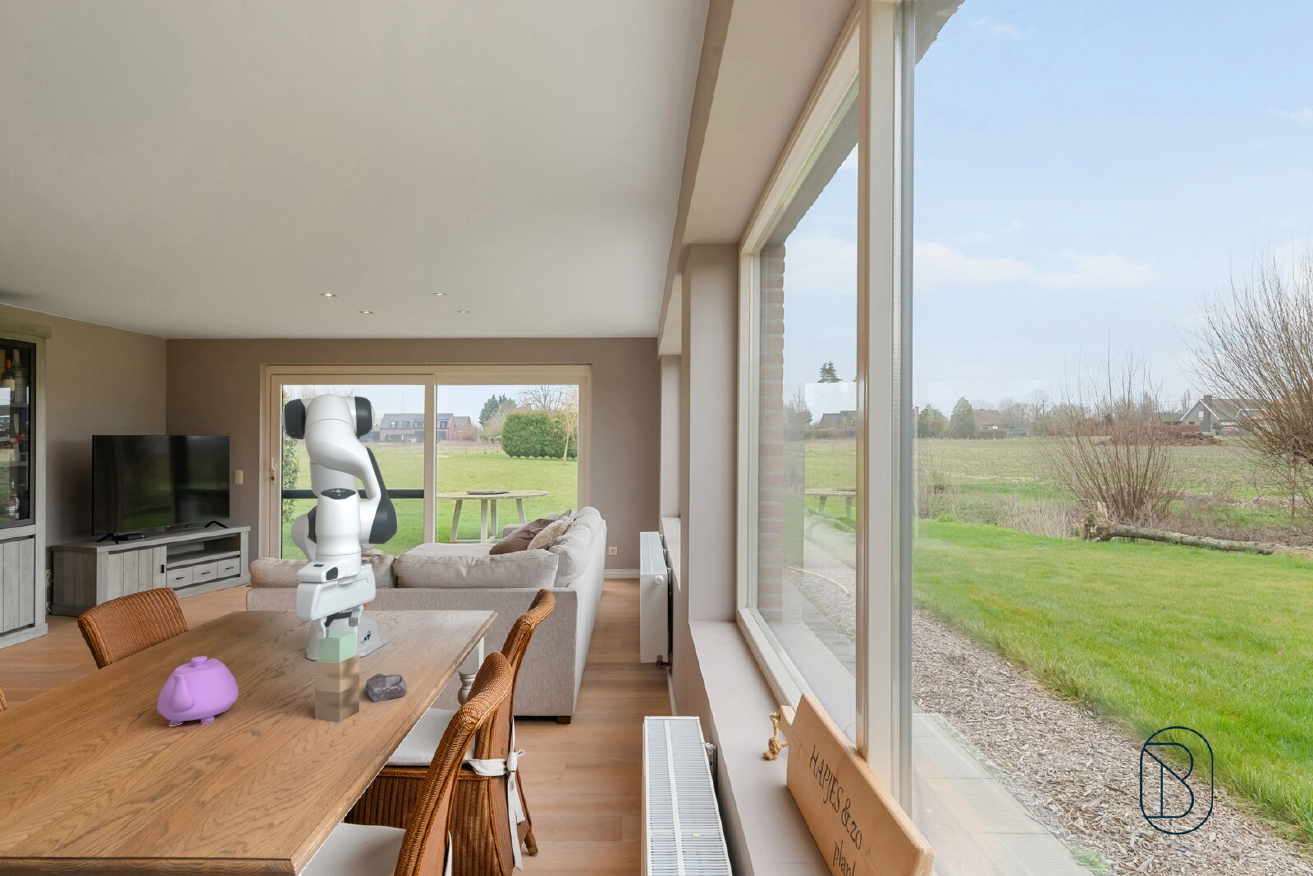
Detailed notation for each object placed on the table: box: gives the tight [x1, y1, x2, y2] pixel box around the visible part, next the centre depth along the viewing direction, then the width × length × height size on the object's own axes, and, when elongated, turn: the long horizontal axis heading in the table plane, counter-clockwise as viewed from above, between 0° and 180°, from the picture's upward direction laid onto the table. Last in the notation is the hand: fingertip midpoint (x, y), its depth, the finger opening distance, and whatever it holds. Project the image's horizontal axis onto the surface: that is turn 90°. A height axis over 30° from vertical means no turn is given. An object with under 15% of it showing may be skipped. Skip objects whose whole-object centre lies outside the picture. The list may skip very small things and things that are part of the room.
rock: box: [365, 673, 408, 703], centre depth 159 cm, size 8×11×5 cm
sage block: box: [319, 631, 356, 662], centre depth 146 cm, size 5×5×5 cm
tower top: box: [314, 655, 360, 693], centre depth 146 cm, size 6×6×6 cm
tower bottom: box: [314, 683, 360, 723], centre depth 146 cm, size 6×6×6 cm
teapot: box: [156, 655, 239, 725], centre depth 144 cm, size 20×14×12 cm
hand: (338, 631), depth 147 cm, fingers open, 8 cm apart
